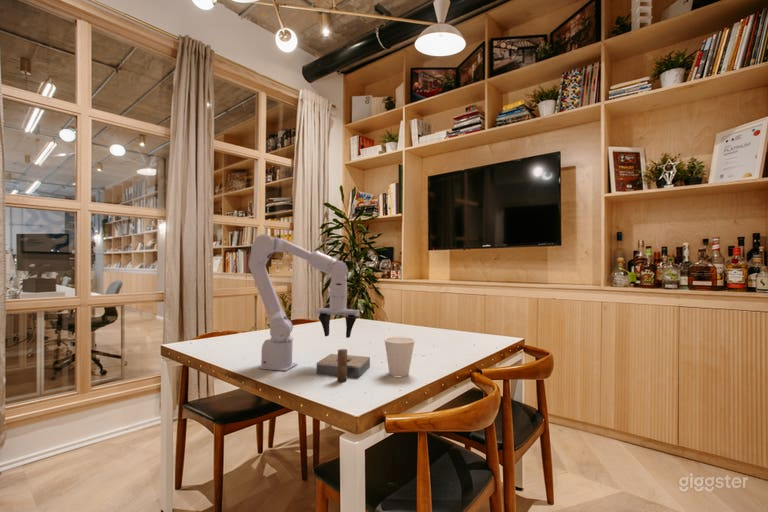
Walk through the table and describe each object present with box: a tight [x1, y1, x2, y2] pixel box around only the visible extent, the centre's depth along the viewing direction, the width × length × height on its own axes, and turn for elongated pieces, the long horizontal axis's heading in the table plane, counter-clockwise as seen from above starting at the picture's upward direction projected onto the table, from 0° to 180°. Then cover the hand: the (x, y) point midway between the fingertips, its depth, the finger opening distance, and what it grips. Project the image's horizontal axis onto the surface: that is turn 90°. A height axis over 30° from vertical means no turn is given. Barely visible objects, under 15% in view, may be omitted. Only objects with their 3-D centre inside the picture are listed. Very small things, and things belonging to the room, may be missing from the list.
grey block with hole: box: [316, 353, 371, 379], centre depth 121 cm, size 14×12×3 cm
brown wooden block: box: [336, 348, 348, 383], centre depth 111 cm, size 3×3×9 cm
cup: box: [383, 336, 416, 377], centre depth 118 cm, size 10×10×11 cm
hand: (337, 336), depth 126 cm, fingers open, 7 cm apart
